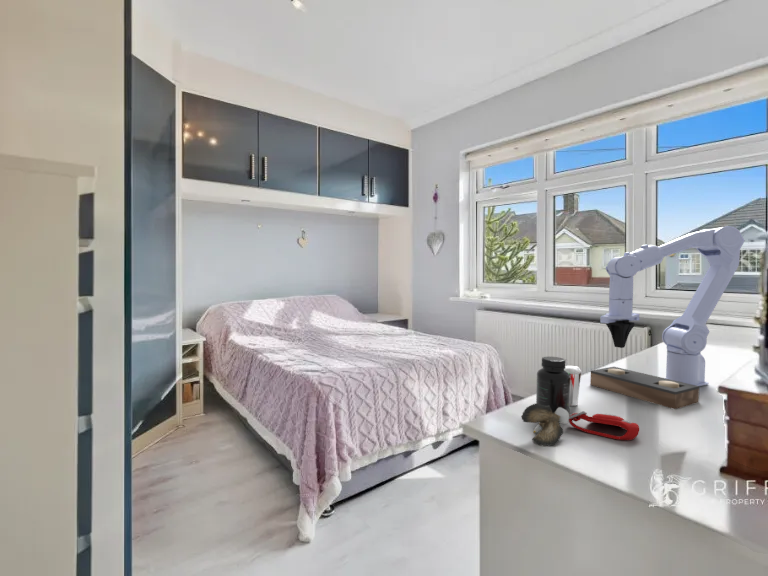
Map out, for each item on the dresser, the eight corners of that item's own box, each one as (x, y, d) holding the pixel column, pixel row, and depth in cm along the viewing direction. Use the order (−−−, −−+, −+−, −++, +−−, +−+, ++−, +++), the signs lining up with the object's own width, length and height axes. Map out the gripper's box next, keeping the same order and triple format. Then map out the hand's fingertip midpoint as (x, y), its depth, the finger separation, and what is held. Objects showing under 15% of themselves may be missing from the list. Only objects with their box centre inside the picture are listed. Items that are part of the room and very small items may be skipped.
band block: (613, 380, 112) (613, 366, 112) (698, 402, 93) (699, 386, 93) (590, 384, 107) (590, 370, 107) (674, 409, 89) (675, 392, 88)
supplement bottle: (560, 406, 91) (561, 355, 90) (575, 417, 84) (576, 362, 84) (531, 406, 91) (532, 355, 90) (544, 417, 84) (545, 362, 83)
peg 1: (613, 380, 109) (613, 368, 109) (627, 384, 105) (628, 371, 105) (604, 382, 107) (604, 369, 107) (618, 386, 103) (619, 373, 103)
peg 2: (664, 394, 97) (664, 379, 97) (682, 398, 94) (682, 384, 93) (654, 396, 95) (655, 381, 95) (672, 401, 92) (673, 386, 92)
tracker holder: (605, 414, 83) (650, 419, 74) (605, 436, 82) (651, 444, 73) (560, 407, 80) (601, 412, 71) (559, 429, 79) (601, 437, 70)
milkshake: (574, 399, 95) (575, 359, 95) (583, 407, 90) (584, 364, 89) (555, 399, 96) (556, 359, 95) (563, 406, 90) (564, 364, 90)
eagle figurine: (524, 417, 81) (511, 423, 74) (546, 391, 79) (534, 395, 72) (556, 446, 77) (545, 455, 70) (579, 419, 75) (570, 426, 68)
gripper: (622, 297, 116) (621, 342, 117) (590, 299, 110) (589, 346, 110) (647, 299, 110) (646, 346, 111) (615, 300, 103) (613, 351, 104)
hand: (619, 347), depth 110 cm, fingers closed
